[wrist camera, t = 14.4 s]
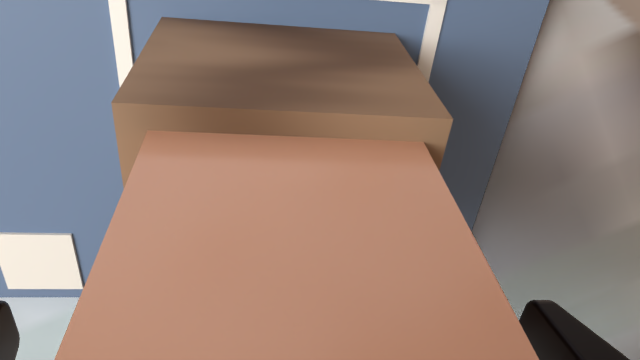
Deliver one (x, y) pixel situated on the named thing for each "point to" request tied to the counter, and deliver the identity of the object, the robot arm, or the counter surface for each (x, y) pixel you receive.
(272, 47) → the walnut block
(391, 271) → the terracotta cube
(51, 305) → the counter surface
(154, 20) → the board
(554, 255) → the counter surface
